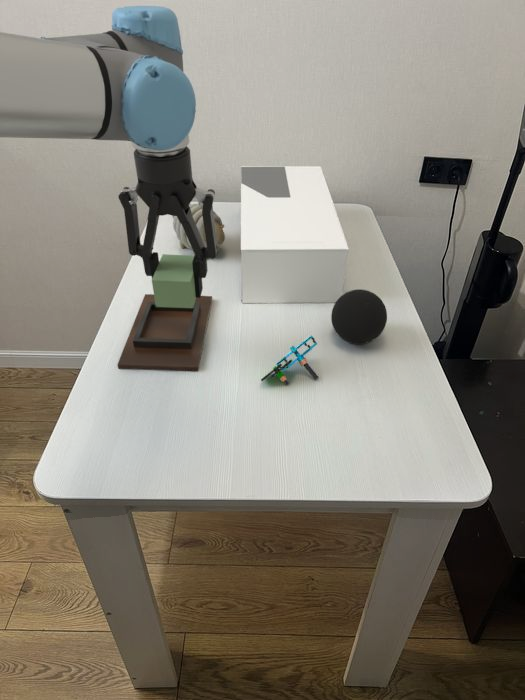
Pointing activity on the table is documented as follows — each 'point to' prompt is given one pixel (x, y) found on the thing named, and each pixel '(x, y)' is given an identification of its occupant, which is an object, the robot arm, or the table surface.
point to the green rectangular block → (174, 282)
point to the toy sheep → (198, 218)
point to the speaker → (359, 316)
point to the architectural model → (290, 237)
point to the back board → (166, 336)
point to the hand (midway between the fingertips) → (178, 292)
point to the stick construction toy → (300, 359)
